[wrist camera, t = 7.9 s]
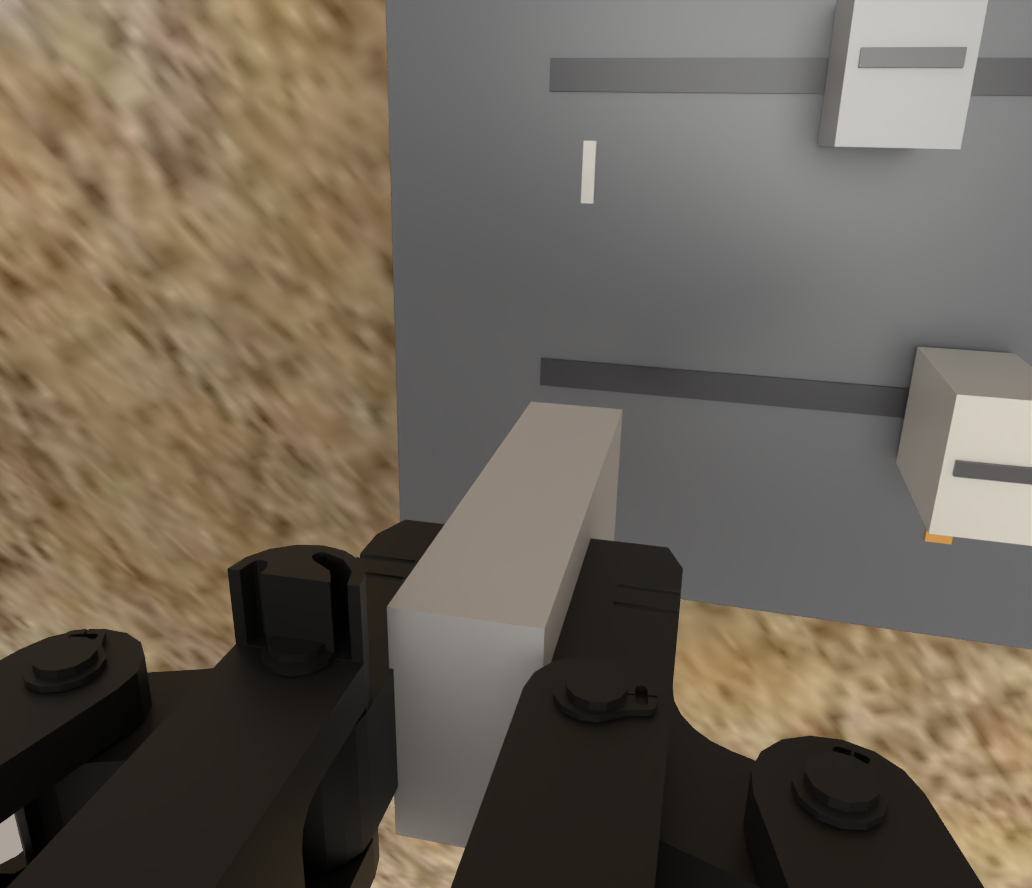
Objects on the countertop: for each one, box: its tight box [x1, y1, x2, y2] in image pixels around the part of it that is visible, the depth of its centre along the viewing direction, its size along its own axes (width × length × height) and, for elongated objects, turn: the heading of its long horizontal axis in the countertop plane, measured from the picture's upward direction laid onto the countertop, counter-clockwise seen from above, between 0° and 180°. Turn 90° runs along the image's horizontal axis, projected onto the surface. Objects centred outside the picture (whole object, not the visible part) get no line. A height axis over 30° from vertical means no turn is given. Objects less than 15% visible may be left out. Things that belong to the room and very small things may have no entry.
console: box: [386, 0, 1032, 649], centre depth 19 cm, size 22×18×5 cm
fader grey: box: [818, 0, 988, 149], centre depth 16 cm, size 2×3×4 cm
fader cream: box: [896, 347, 1032, 546], centre depth 18 cm, size 2×3×4 cm
